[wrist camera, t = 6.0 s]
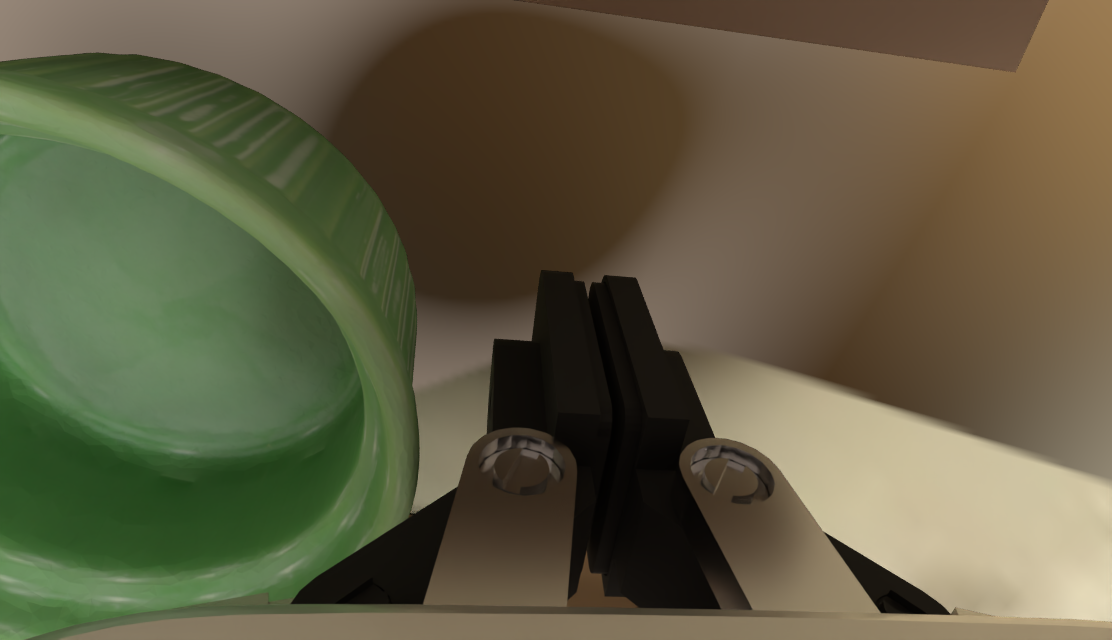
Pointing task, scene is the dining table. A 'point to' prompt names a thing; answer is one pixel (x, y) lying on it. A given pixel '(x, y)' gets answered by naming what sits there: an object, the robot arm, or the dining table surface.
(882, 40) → the walnut track
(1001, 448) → the dining table surface
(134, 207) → the ramekin
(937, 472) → the dining table surface
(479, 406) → the dining table surface
